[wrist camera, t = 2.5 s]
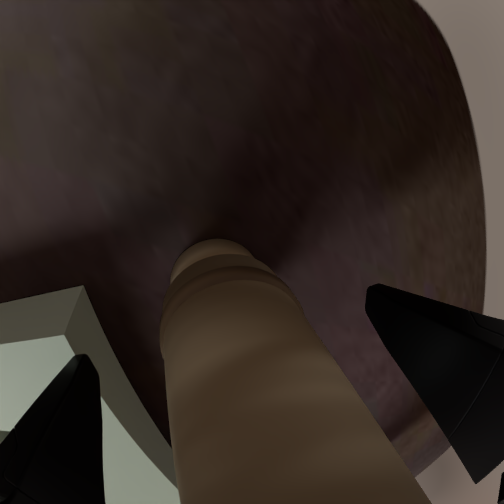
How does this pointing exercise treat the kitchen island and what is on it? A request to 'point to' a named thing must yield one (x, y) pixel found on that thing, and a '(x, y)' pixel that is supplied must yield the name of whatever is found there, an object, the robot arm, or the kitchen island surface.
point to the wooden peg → (263, 395)
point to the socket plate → (111, 388)
